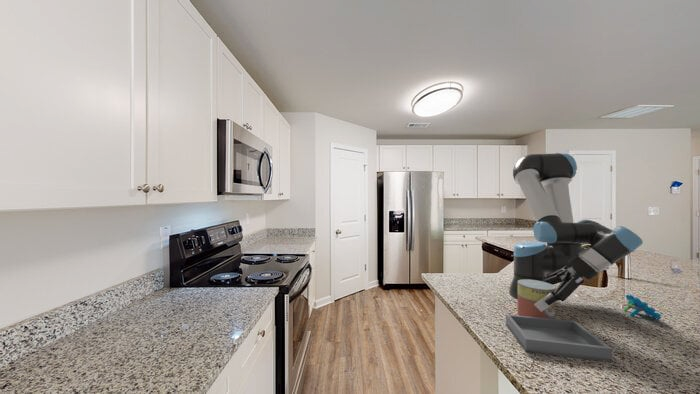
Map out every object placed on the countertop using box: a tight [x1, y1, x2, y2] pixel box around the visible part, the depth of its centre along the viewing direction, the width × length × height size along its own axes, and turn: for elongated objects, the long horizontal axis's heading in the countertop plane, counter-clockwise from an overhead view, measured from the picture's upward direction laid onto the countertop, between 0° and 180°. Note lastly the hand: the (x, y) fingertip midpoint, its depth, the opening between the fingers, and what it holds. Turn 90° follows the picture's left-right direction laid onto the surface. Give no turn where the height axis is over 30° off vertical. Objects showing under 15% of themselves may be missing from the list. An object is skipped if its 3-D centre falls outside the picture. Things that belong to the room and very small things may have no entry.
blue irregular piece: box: [623, 294, 662, 320], centre depth 96 cm, size 11×6×10 cm
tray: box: [505, 313, 613, 363], centre depth 79 cm, size 16×20×4 cm
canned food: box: [516, 279, 557, 319], centre depth 94 cm, size 11×11×12 cm
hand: (533, 301), depth 94 cm, fingers open, 13 cm apart
